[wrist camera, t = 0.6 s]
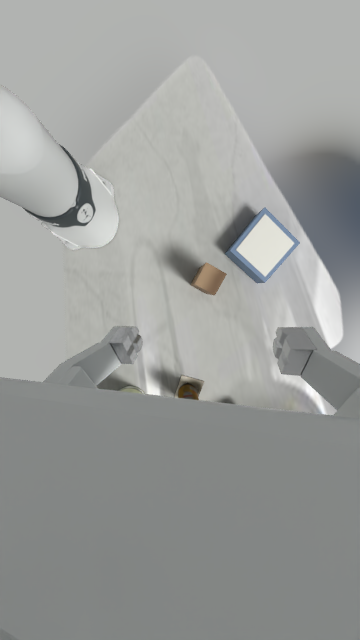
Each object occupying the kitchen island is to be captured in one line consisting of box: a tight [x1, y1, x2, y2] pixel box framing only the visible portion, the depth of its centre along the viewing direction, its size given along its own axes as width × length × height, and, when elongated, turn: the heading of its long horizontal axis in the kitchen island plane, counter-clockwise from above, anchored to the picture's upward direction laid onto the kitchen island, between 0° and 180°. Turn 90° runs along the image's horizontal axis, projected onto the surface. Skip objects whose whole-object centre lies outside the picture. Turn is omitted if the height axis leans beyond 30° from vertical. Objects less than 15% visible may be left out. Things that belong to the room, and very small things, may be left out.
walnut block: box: [191, 262, 227, 295], centre depth 39 cm, size 5×5×10 cm
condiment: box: [174, 375, 204, 400], centre depth 44 cm, size 7×8×12 cm
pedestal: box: [225, 208, 300, 283], centre depth 40 cm, size 12×12×4 cm
